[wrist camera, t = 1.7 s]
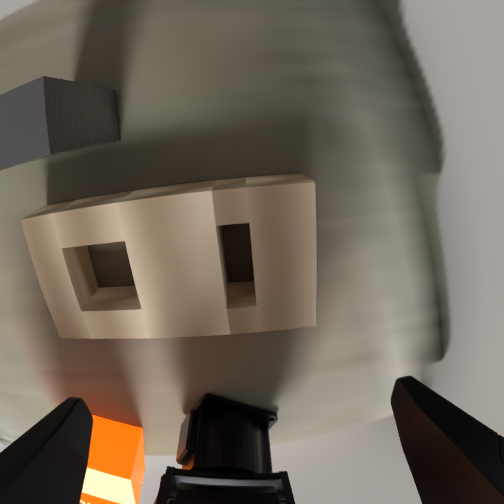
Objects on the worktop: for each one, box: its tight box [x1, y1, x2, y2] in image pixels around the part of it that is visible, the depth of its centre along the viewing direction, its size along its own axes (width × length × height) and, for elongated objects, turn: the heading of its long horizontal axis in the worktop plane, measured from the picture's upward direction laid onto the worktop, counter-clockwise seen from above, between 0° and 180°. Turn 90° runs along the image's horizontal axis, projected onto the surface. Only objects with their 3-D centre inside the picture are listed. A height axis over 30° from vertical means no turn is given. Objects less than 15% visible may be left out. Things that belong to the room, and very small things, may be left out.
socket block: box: [21, 173, 317, 339], centre depth 18 cm, size 16×8×3 cm, turn 95°
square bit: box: [0, 76, 121, 170], centre depth 12 cm, size 3×3×8 cm
